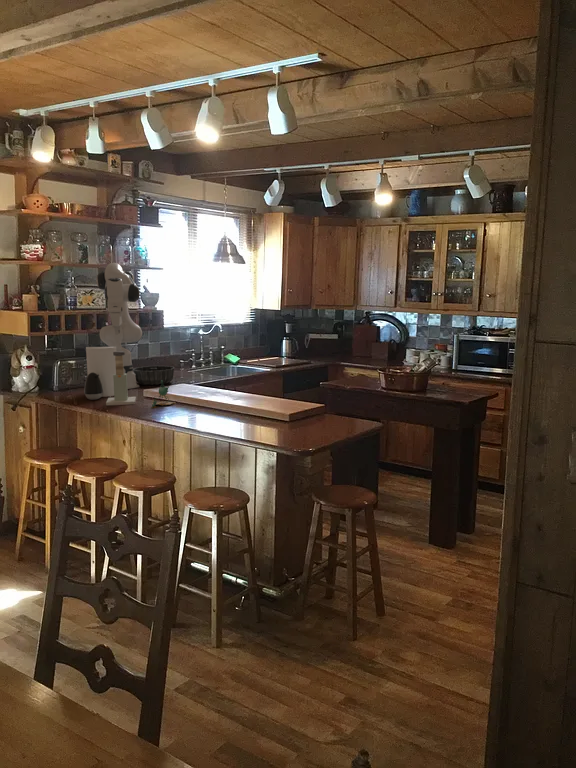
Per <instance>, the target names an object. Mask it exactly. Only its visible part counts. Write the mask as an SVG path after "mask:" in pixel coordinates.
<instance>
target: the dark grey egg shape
mask: <svg viewBox="0 0 576 768" xmlns="http://www.w3.org/2000/svg"><path fill="white" fill-rule="evenodd" d="M83 392H84V395H85V397H86V398H87V399H88V400H90V401H91V400H92V401H96V400H99V399H101V398H102V397H101V396H102V393H103V388H102V384H101V381H100V378H99V375H97V374H96V373H94V372H92V373H90V374H89V375H88V374H87V376H86V379H85V382H84V390H83Z"/></svg>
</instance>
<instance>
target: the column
mask: <svg viewBox="0 0 576 768" xmlns="http://www.w3.org/2000/svg"><path fill="white" fill-rule="evenodd" d="M113 355H114V356H115V363H116V375H124V368H123V355H125V352H123V351H118V352H113Z"/></svg>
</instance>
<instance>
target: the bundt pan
mask: <svg viewBox="0 0 576 768" xmlns="http://www.w3.org/2000/svg"><path fill="white" fill-rule="evenodd" d="M132 371H133V372H134V373H135V377H136V383H137V384H139V385H144V386H148V385H151V386H154V385H155V386H158V385H162V384H161V380H163V385H165V384H168V383H171V382H172V380H173V378H174V373H175V372H174V371H175V367H174V366H169V365H148V366H141V367H140V366H139V367H133V370H132Z"/></svg>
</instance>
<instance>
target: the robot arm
mask: <svg viewBox="0 0 576 768" xmlns="http://www.w3.org/2000/svg"><path fill="white" fill-rule="evenodd" d="M104 269H105V270H102V271H101V272H99V273H98V274H97V276H96V280H95V281H96V285H97V287H98V289H99V290H102V291H104V298H105V300H106V301H107V312H108V313H109V316H110V321H111V325H106V326H102V327H101V329H100V330H99V338H100V341H102V342H103V343H104V344H105V345H107V347H116V352H118V351H123V352H125V355H123V368H124V373H126V374H127V390H128V389H129V390H130V389H135V388H140V384H139V383H138V382H137V381H136V377H135V373H134V371H133V369H134V366H133V363H132V352H131V351H130V350H129V349H127V348H125V347H123V346H122V344H125V343H134V342H138V341H140V340H141V339H142V337H143V331H142V328H141V326H140V325H138V324H137V323H135V322H134V321H133V319H132V317H131V316H130V313H129V307H128V302H129V303H135V302H137V301H138V300H139V299H140V293H141V292H140V288H139V286H138V285H137V284H136V283H135V276H134V274H133V273H132V271H131V270H124V269H123V267H122V266H121V264H119V263H118V262H110V263H108V264H107V266H105V268H104Z"/></svg>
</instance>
